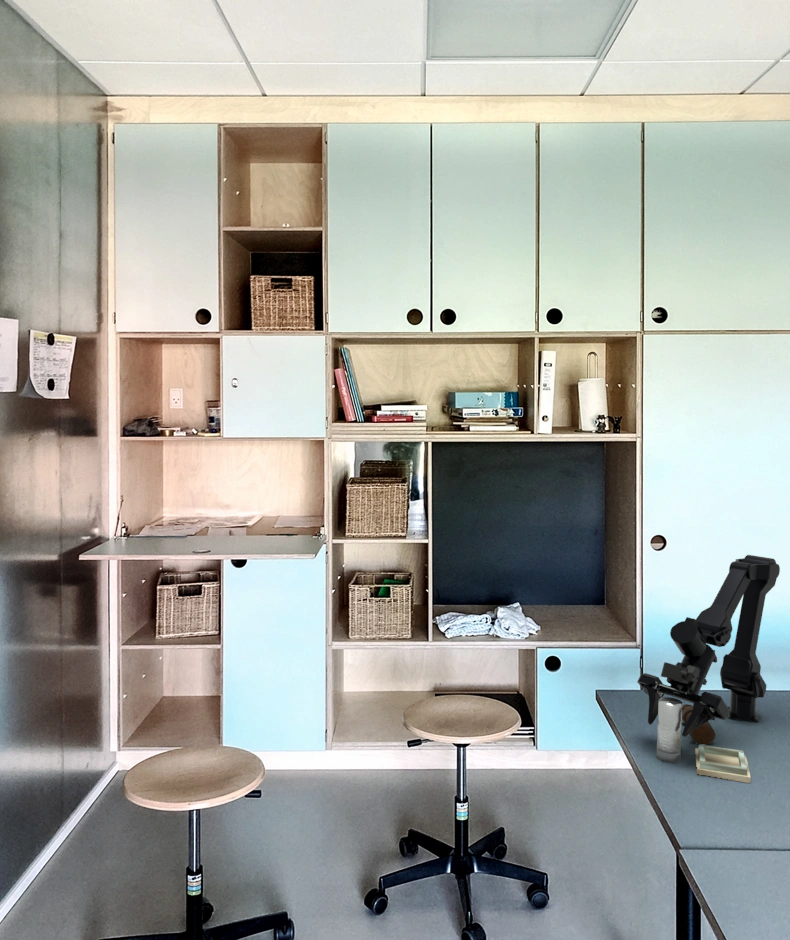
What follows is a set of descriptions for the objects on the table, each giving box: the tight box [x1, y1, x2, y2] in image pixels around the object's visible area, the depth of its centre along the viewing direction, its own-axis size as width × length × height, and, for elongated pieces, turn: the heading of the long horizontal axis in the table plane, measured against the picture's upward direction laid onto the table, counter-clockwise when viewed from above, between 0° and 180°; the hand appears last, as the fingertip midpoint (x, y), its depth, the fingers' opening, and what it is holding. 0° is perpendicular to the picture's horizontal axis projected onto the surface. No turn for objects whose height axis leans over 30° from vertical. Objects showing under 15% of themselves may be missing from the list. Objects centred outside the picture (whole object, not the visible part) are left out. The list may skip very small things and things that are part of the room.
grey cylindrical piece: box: [656, 696, 683, 763], centre depth 161 cm, size 5×5×12 cm
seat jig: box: [694, 744, 752, 784], centre depth 157 cm, size 10×10×2 cm
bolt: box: [682, 704, 717, 745], centre depth 175 cm, size 6×5×15 cm
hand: (666, 729), depth 160 cm, fingers open, 8 cm apart
